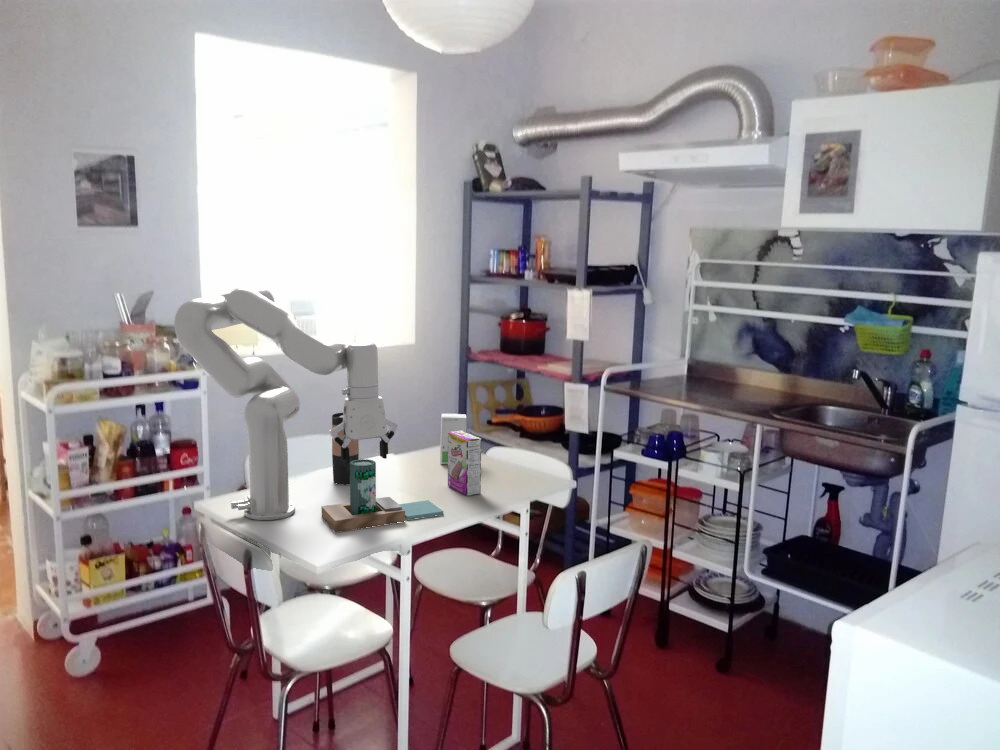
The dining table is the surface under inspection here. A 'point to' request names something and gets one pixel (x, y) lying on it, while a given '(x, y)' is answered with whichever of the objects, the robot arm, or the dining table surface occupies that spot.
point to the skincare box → (448, 425)
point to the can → (362, 486)
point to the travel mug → (339, 466)
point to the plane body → (362, 515)
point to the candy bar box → (464, 462)
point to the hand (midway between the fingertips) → (365, 459)
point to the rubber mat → (420, 509)
